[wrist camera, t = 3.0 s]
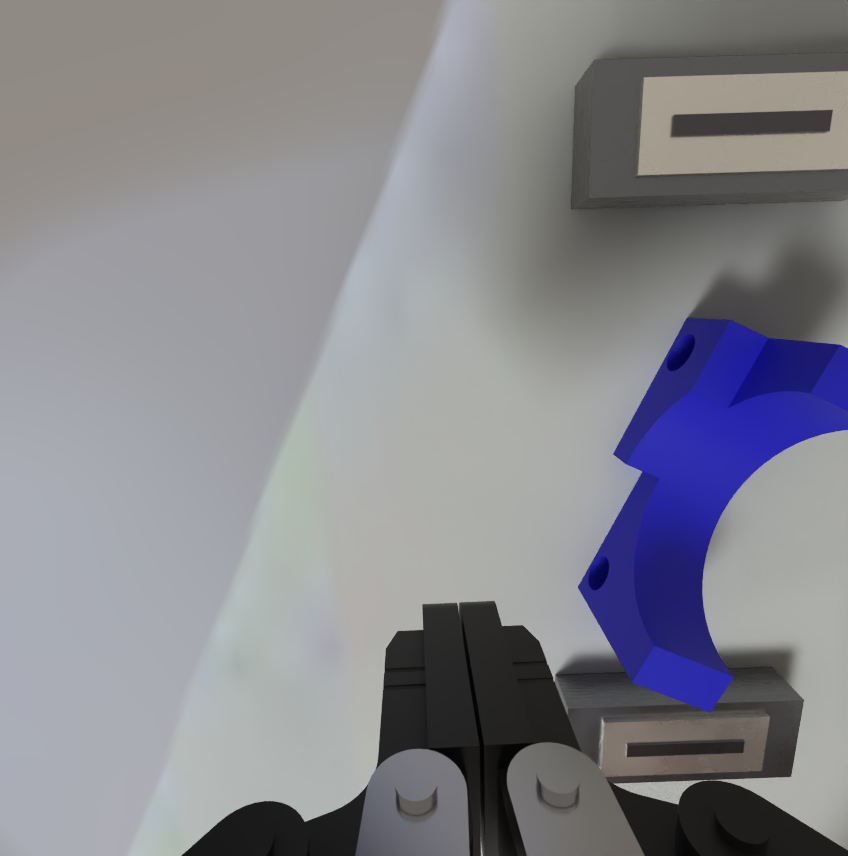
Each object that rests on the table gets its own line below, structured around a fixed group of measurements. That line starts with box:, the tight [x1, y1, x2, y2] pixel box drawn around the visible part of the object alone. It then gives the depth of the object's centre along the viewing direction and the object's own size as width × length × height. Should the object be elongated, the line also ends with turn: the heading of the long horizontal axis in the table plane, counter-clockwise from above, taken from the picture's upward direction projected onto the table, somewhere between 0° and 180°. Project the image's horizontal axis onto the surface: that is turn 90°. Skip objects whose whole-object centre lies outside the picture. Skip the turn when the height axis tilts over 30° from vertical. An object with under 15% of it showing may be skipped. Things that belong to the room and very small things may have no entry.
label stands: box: [555, 52, 848, 783], centre depth 20 cm, size 10×28×2 cm, turn 2°
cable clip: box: [578, 318, 848, 712], centre depth 19 cm, size 12×4×6 cm, turn 156°
